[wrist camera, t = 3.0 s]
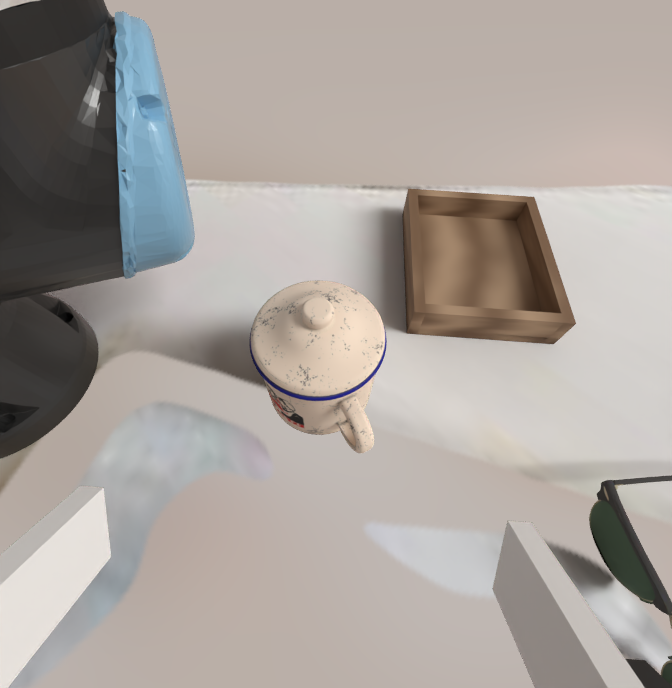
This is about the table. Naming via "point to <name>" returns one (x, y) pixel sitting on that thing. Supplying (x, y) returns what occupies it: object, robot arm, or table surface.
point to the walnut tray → (481, 268)
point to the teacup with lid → (320, 358)
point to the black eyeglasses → (628, 550)
